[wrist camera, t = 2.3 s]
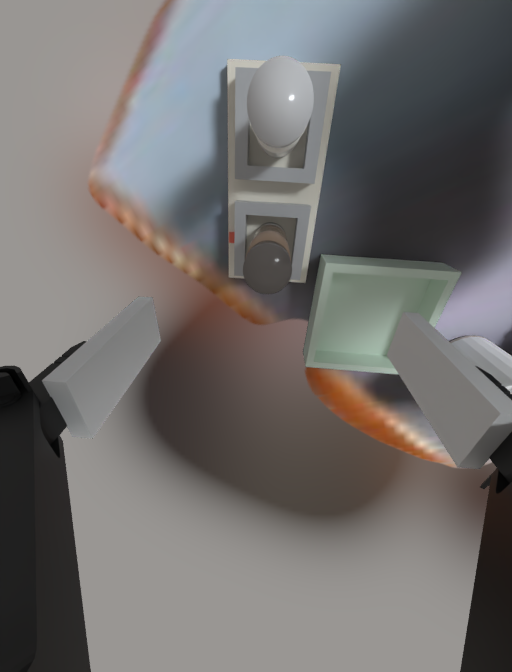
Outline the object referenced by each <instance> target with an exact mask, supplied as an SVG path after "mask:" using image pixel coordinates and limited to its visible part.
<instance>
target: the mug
mask: <svg viewBox="0 0 512 672" xmlns="http://www.w3.org/2000/svg"><path fill="white" fill-rule="evenodd" d="M450 343H451V344H452V345H453V346H454V347H455V348H456V349H457V350H458V351H460V352H461V353H462V354H463V355H464V356H465V357H466V358H467V359H468V360H469V361H470V362H471V363H472V364H473V365H474V366H478V367H479V368H481V369H483V370H484V371H486V372H488V373H489V374H491V375H492V376H493V377H494V378H495V379H497V380H498V381H499V382H500V383H501V384H502V386H504V387H505V388H506V389H508V390H509V391H510V394H512V356H511V355H510V354H508V353H507V352H505V351H504V350H502V349H501V348H499V347H498V346H496V345H495V344H493V343H492V342H490V341H489V340H487V339H486V338H484V337H480V336H464V337H459V338H457V339H454V340H452V341H450Z"/></svg>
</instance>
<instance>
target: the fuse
mask: <svg viewBox="0 0 512 672" xmlns="http://www.w3.org/2000/svg"><path fill="white" fill-rule="evenodd" d="M313 104H314V92H313V85H312V81H311V79H310V76H309V74H308V72H307V70H306V69H305V67H304V66H303V65H302V64H301V63H300V62H299V61H297V60H296V59H294V58H292V57H289V56H277V57H273V58H271V59H269V60H267V61H266V62H264V63H263V64H262V65H261V66H260V67H259V68H258V70H257V71H256V73H255V74H254V76H253V78H252V80H251V83H250V86H249V89H248V94H247V112H248V117H249V120H250V123H251V127H252V130H253V132H254V134H255V136H256V138H257V140H258V142H259V144H260V146H261V148H262V149H263V150H264V152H265V153H266V154H268V155H269V156H271V157H274V158H280V157H284V156H286V155H287V154H289V153H290V152H291V151H292V150H293V148H294V147H295V146H296V144H297V142H298V141H299V139H300V137H301V136H302V134H303V133H304V131H305V129H306V127H307V124H308V122H309V120H310V117H311V114H312V110H313Z"/></svg>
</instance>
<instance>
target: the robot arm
mask: <svg viewBox="0 0 512 672" xmlns="http://www.w3.org/2000/svg"><path fill="white" fill-rule="evenodd" d="M160 341H161V338H160V333H159V327H158V322H157V318H156V312H155V307H154V302H153V298H152V297H137V298H136V299H135V300H134V301H133V302H132V303H131V304H129V305H128V306H127V307H126V308H125V309H124V310H123V311H121V312H120V313H119V314H118V315H117V316H116V317H114V318H113V319H112V320H111V321H110V322H109V323H108V324H106V325H105V326H104V327H103V328H102V329H101V330H100V331H98V332H97V333H96V334H95V335H94V336H93V337H91V338H90V339H89V340H88V341H87V342H86V341H83V342H81V343H79V344H77V345H75V346H73V347H71V348H70V349H69V350H68V351H67V352H65V353H64V354H63V355H62V357H59V358H58V359H57V360H56V361H55V362H54V363H52V364H51V365H50V366H48V367H47V368H46V369H45V370H44V371H42V372H41V373H40V374H39V375H38V376H36V377H35V378H34V379H33V380H32V381H31V382H28V381H27V379H26V378H25V376H24V374H23V373H22V371H21V369H20V368H19V367H16V366H3V367H0V672H91V669H90V662H89V654H88V646H87V638H86V629H85V621H84V613H83V604H82V596H81V588H80V580H79V571H78V563H77V555H76V547H75V538H74V530H73V522H72V513H71V505H70V497H69V489H68V480H67V472H66V464H65V456H64V447H63V441H62V439H61V437H60V434H61V432H62V431H63V430H64V429H65V428H66V427H67V428H68V429H69V431H70V433H71V435H72V437H80V438H93V437H94V436H95V434H96V433H97V432H98V430H99V429H100V427H101V426H102V425H103V423H104V422H105V420H106V419H107V417H108V416H109V414H110V413H111V412H112V410H113V409H114V407H115V406H116V404H117V403H118V401H119V400H120V399H121V397H122V396H123V394H124V393H125V391H126V390H127V389H128V387H129V386H130V384H131V383H132V382H133V380H134V379H135V377H136V376H137V374H138V373H139V372H140V370H141V369H142V367H143V366H144V364H145V363H146V361H147V360H148V359H149V357H150V356H151V354H152V353H153V352H154V350H155V349H156V347H157V346H158V344H159V343H160ZM387 357H388V358H389V360H390V361H391V363H392V364H393V366H394V368H395V369H396V371H397V372H398V374H399V375H400V377H401V379H402V380H403V382H404V383H405V385H406V387H407V388H408V390H409V391H410V393H411V394H412V396H413V398H414V399H415V401H416V402H417V404H418V405H419V407H420V409H421V410H422V412H423V413H424V415H425V417H426V418H427V420H428V421H429V423H430V424H431V426H432V428H433V429H434V431H435V432H436V434H437V435H438V437H439V439H440V440H441V442H442V443H443V445H444V447H445V448H446V450H447V451H448V453H449V454H450V456H451V458H452V459H453V461H454V462H455V464H456V465H457V467H461V468H474V469H480V468H481V467H482V466H483V465H484V464H485V463H486V462H487V461H488V459H489V458H490V459H491V461H492V462H493V463H494V464H495V466H496V467H497V468H496V470H495V471H494V472H493V473H492V474H491V475H490V476H489V477H488V478H487V479H486V480H485V481H484V482H483V483H482V485H481V488H483V489H485V488H486V487H487V486H490V487H489V494H488V500H487V507H486V513H485V519H484V525H483V532H482V538H481V545H480V550H479V557H478V563H477V569H476V576H475V582H474V589H473V595H472V601H471V608H470V614H469V620H468V626H467V633H466V639H465V645H464V652H463V658H462V664H461V671H460V672H512V394H510V391H509V390H508V389H506V388H505V387H504V386H502V384H501V383H500V382H499V381H498V380H497V379H495V378H494V377H493V376H492V375H491V374H489V373H488V372H486V371H484V370H483V369H481V368H479V367H478V366H474V365H473V364H472V363H471V362H470V361H469V360H468V359H467V358H466V357H465V356H464V355H463V354H462V353H461V352H460V351H458V350H457V349H456V348H455V347H454V346H453V345H452V344H451V343H450V342H449V341H448V340H447V339H446V338H445V337H444V336H442V335H441V334H440V333H439V332H438V331H437V330H436V329H435V328H434V327H433V326H432V325H431V324H430V323H429V322H428V321H426V320H425V319H424V318H423V317H422V316H421V315H420V314H419V313H411V312H403V314H402V317H401V319H400V322H399V324H398V327H397V330H396V332H395V335H394V338H393V340H392V343H391V345H390V348H389V351H388V353H387Z"/></svg>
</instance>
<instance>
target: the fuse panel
mask: <svg viewBox="0 0 512 672" xmlns="http://www.w3.org/2000/svg"><path fill="white" fill-rule="evenodd" d="M264 62H266V61H259V60H238V59H227V76H228V238H229V277H230V278H244V276H243V265H244V261H245V258H246V254H247V252H248V249H249V246H250V244H251V241H252V239H253V236H254V234H255V232H256V230H257V229H258V228H259V227H260V226H261V225H262V224H264V223H267V222H273V223H277V224H278V225H280V226H281V227H282V228H283V229H284V231H285V233H286V237H287V241H288V246H289V251H290V256H291V265H292V274H291V278H290V280H289V282H299V283H306V276H307V270H308V264H309V258H310V252H311V246H312V239H313V233H314V227H315V221H316V215H317V209H318V202H319V196H320V190H321V184H322V178H323V171H324V165H325V159H326V153H327V147H328V141H329V134H330V128H331V122H332V116H333V110H334V104H335V97H336V91H337V85H338V79H339V73H340V67H341V64H323V63H301V62H300V63H301V64H302V65H303V66H304V67H305V69H306V70H307V72H308V74H309V76H310V79H311V81H312V85H313V92H314V104H313V110H312V114H311V117H310V120H309V122H308V124H307V127H306V129H305V131H304V133H303V134H302V136H301V137H300V139H299V141H298V142H297V144H296V146H295V147H294V148H293V150H292V151H291V152H290V153H289V154H287V155H286V156H284V157H280V158H274V157H271V156H269V155H268V154H266V153H265V152H264V150H263V149H262V148H261V146H260V144H259V142H258V140H257V138H256V136H255V134H254V132H253V130H252V127H251V123H250V120H249V117H248V112H247V94H248V89H249V86H250V83H251V80H252V78H253V76H254V74H255V73H256V71H257V70H258V68H259V67H260V66H261V65H262V64H263V63H264Z"/></svg>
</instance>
